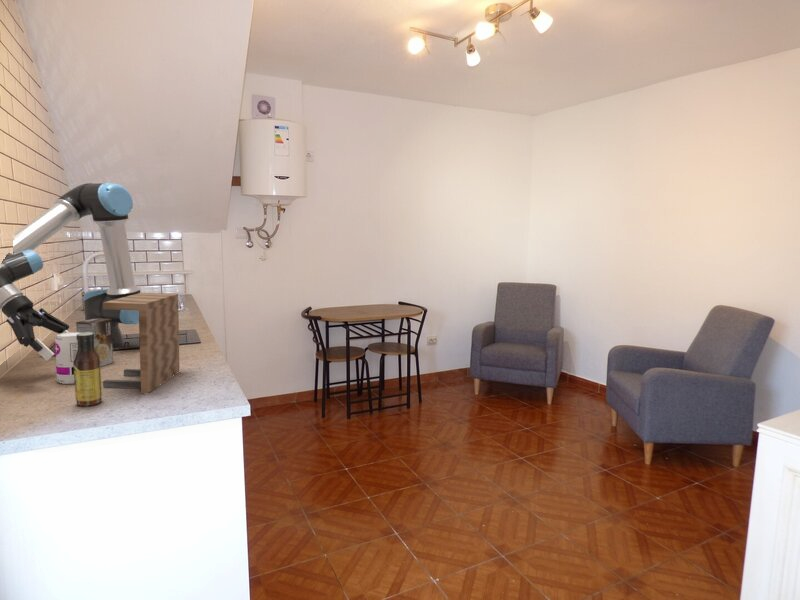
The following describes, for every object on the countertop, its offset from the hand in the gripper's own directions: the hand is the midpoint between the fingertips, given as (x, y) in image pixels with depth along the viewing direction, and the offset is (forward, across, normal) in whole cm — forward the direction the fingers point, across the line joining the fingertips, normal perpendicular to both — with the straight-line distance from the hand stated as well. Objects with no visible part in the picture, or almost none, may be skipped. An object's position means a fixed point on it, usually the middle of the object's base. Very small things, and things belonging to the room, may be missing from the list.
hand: (65, 352), depth 155 cm
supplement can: (+8, -1, -6) cm, 10 cm away
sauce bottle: (+19, +19, +6) cm, 28 cm away
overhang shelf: (+22, -2, +9) cm, 24 cm away
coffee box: (+6, -20, -8) cm, 22 cm away
